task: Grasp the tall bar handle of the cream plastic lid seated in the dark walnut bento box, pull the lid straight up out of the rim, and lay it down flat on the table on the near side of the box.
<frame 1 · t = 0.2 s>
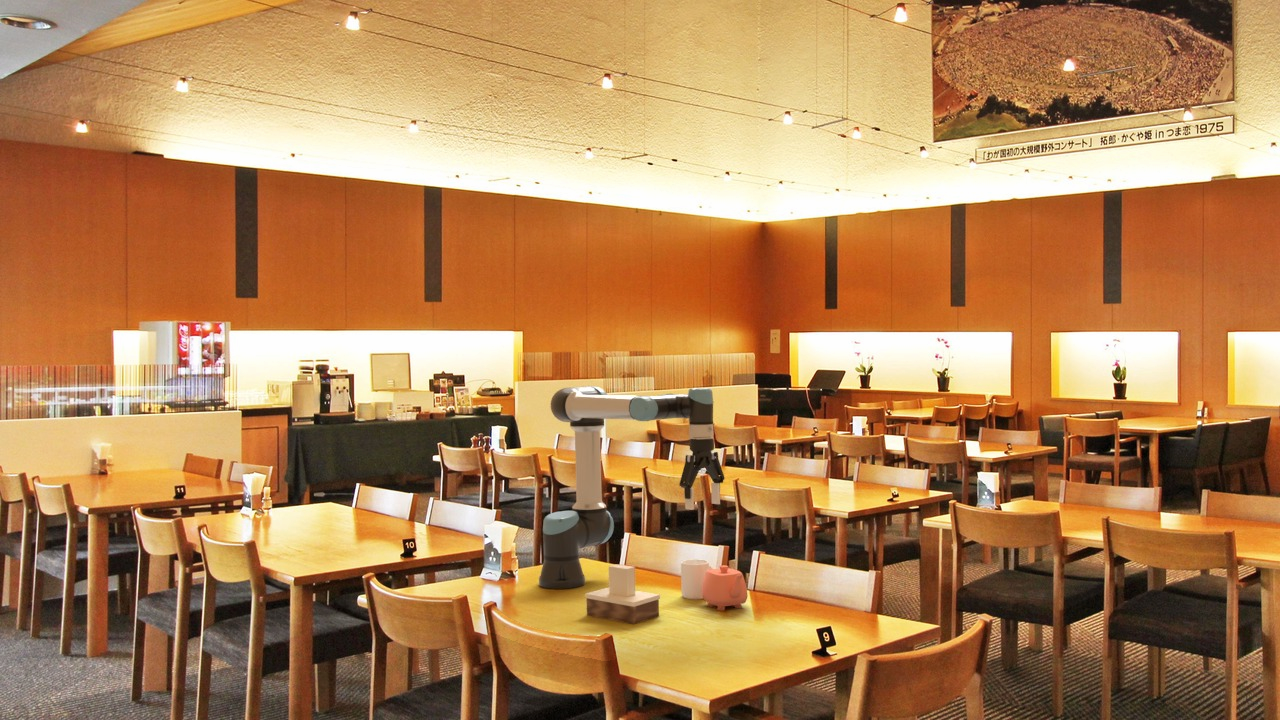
hand: (702, 506, 329), 28 cm above the table, fingers open, 13 cm apart
mug: (699, 596, 331), on the table
teapot: (726, 607, 316), on the table
bento box: (622, 615, 307), on the table
lid: (622, 603, 307), point 3 cm above the table, touching bento box
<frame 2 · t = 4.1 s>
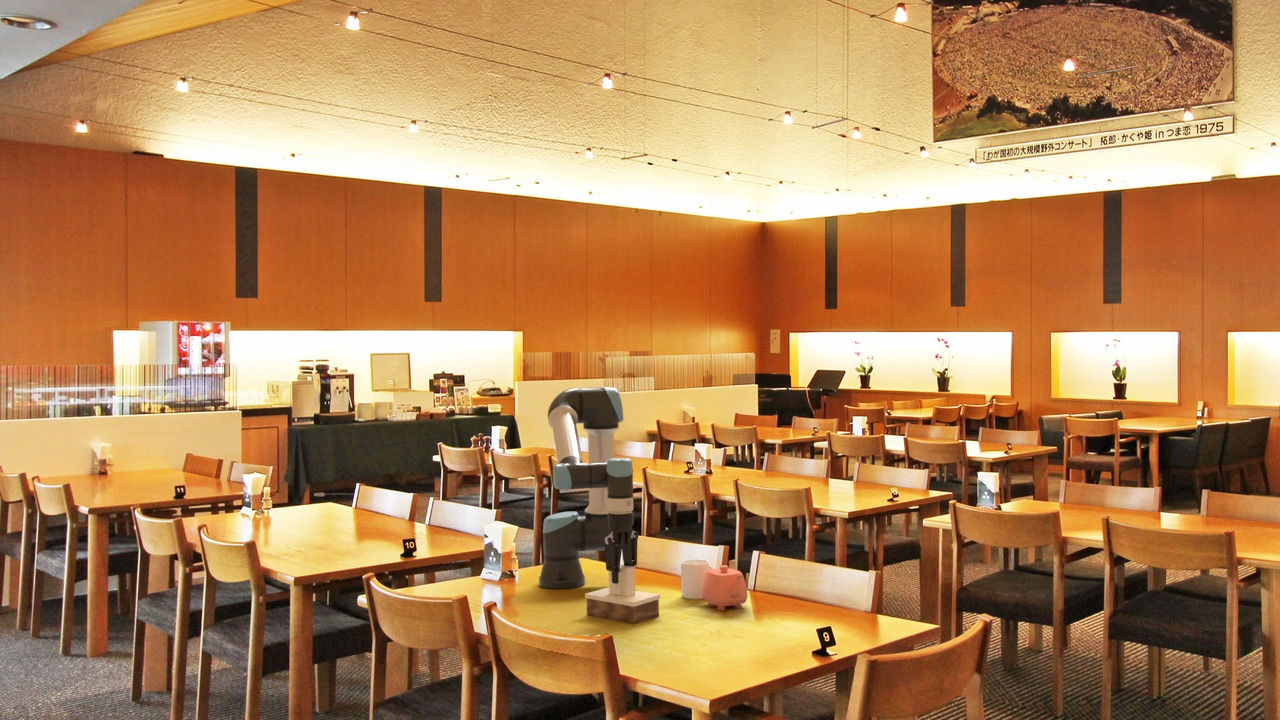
hand: (622, 592, 307), 7 cm above the table, fingers closed on lid, 3 cm apart
lid: (622, 603, 307), point 4 cm above the table, touching bento box, gripper
everything else where it was.
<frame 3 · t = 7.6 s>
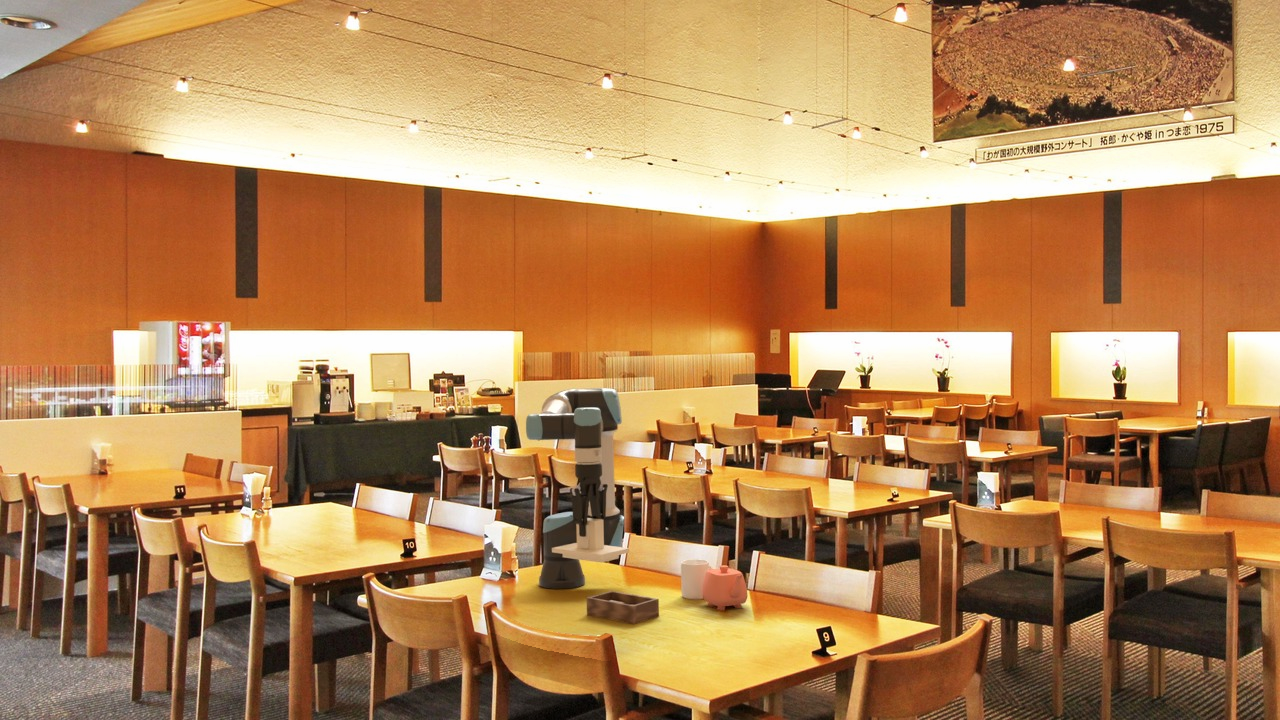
hand: (590, 546, 297), 22 cm above the table, fingers closed on lid, 3 cm apart
lid: (590, 557, 297), point 19 cm above the table, touching gripper
everything else where it was.
when the fingers open (5 cm above the table, at t = 11.2 s): lid drops 2 cm, on the table.
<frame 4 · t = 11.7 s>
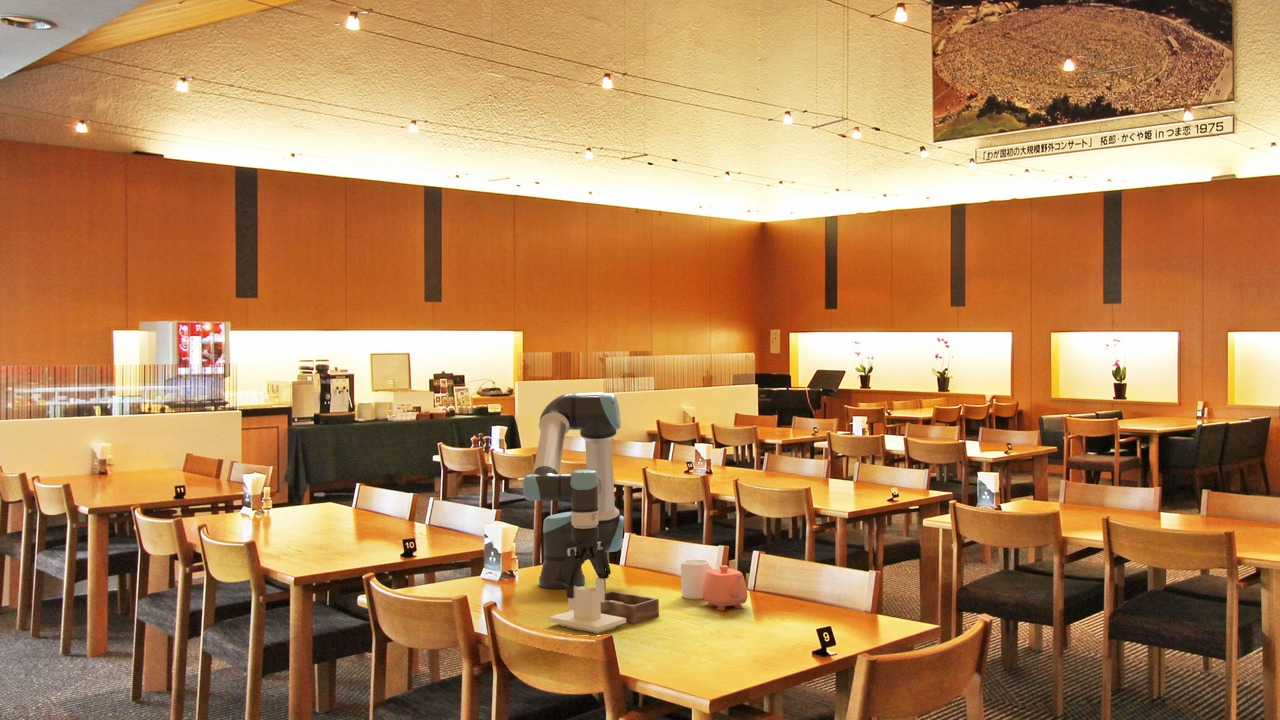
hand: (586, 605, 296), 6 cm above the table, fingers open, 10 cm apart
lid: (587, 627, 296), on the table
everything else where it was.
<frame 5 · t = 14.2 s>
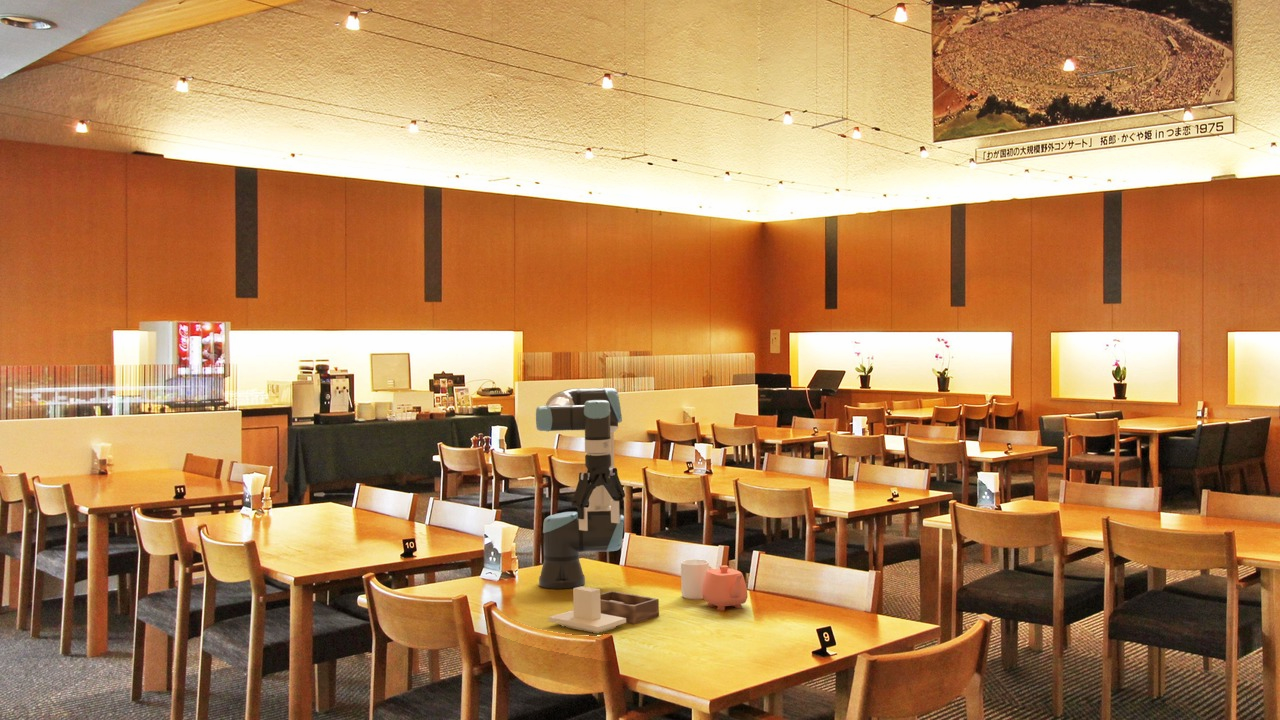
hand: (599, 526, 309), 26 cm above the table, fingers open, 13 cm apart
nothing on the table moved.
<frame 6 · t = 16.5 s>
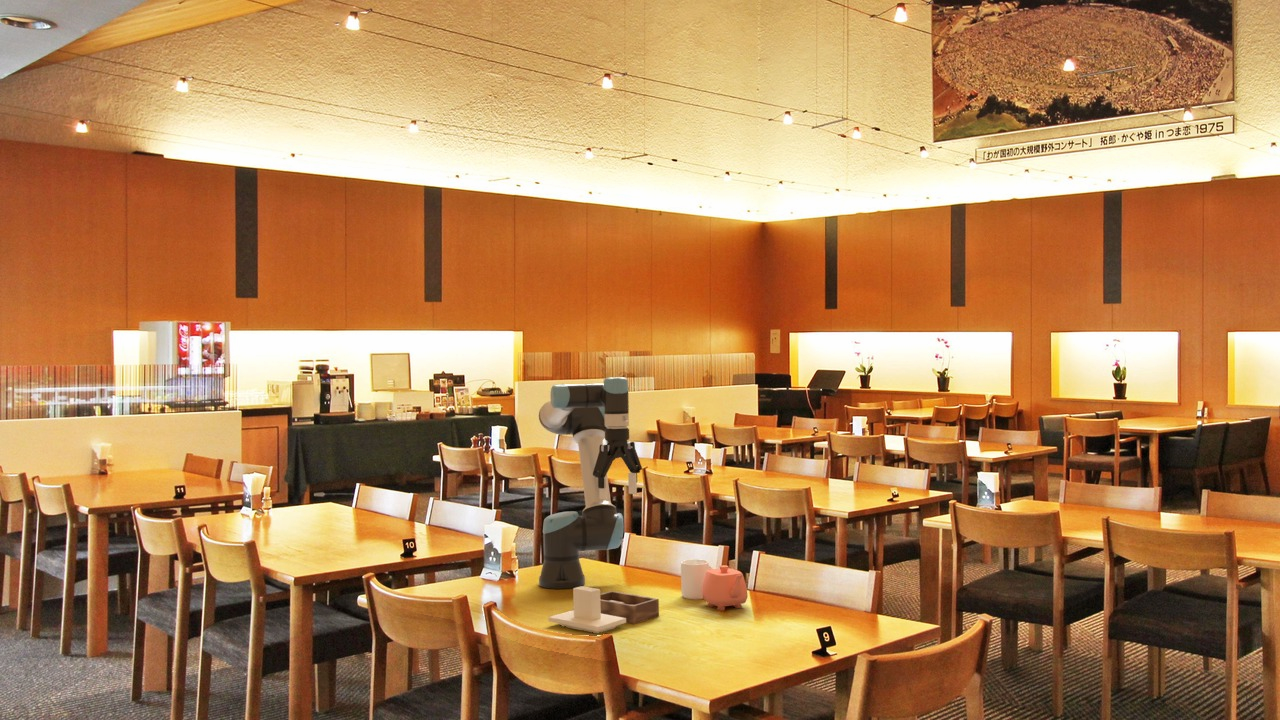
hand: (618, 496, 328), 32 cm above the table, fingers open, 13 cm apart
nothing on the table moved.
at the end: lid inside the target area (0.5 cm from its centre), on the table; lid tilted 0°; lid touching table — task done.
